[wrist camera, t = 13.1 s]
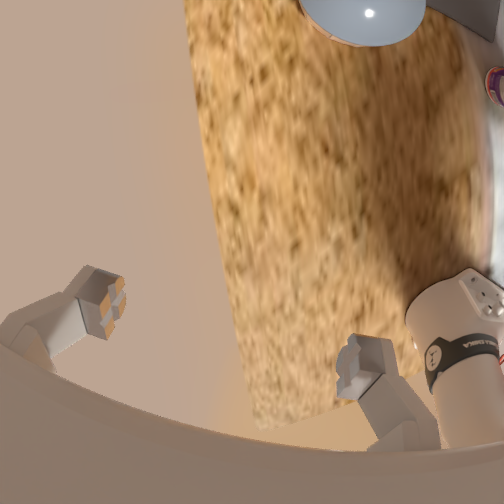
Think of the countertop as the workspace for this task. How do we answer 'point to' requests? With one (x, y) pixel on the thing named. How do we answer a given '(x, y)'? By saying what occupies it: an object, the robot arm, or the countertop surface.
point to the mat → (471, 14)
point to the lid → (367, 19)
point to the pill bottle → (495, 85)
